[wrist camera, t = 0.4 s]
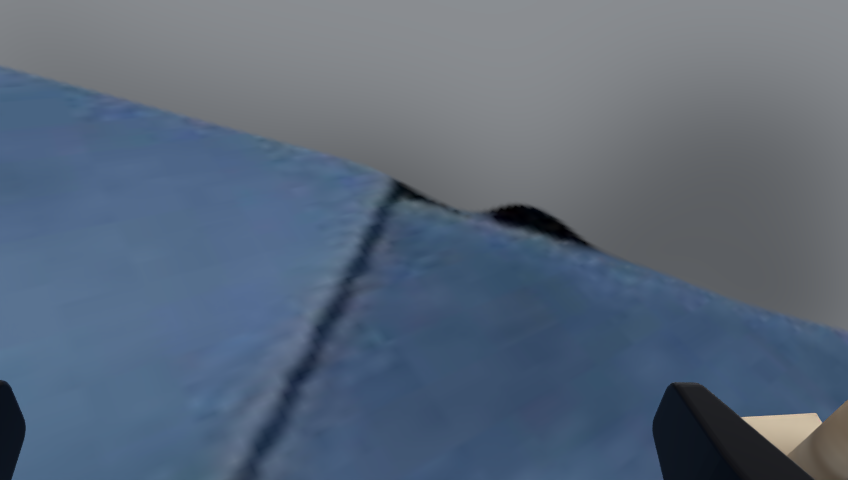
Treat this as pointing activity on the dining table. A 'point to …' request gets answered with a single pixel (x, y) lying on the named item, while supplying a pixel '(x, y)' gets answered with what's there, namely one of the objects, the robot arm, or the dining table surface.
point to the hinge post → (810, 441)
